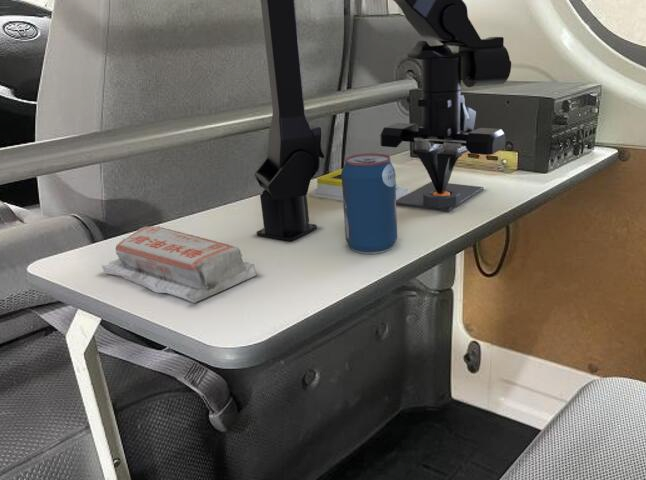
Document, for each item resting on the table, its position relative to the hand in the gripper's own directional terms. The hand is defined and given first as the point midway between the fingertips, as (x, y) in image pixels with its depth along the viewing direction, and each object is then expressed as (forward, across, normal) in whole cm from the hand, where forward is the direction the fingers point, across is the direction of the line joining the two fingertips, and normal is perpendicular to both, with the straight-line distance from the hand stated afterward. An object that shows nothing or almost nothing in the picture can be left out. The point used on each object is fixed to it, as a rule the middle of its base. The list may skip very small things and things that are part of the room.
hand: (441, 193), depth 100 cm
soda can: (+2, 0, +20) cm, 21 cm away
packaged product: (+2, +17, +39) cm, 43 cm away
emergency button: (+2, +16, -1) cm, 16 cm away
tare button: (+1, 0, 0) cm, 1 cm away
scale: (+2, +2, -4) cm, 6 cm away
